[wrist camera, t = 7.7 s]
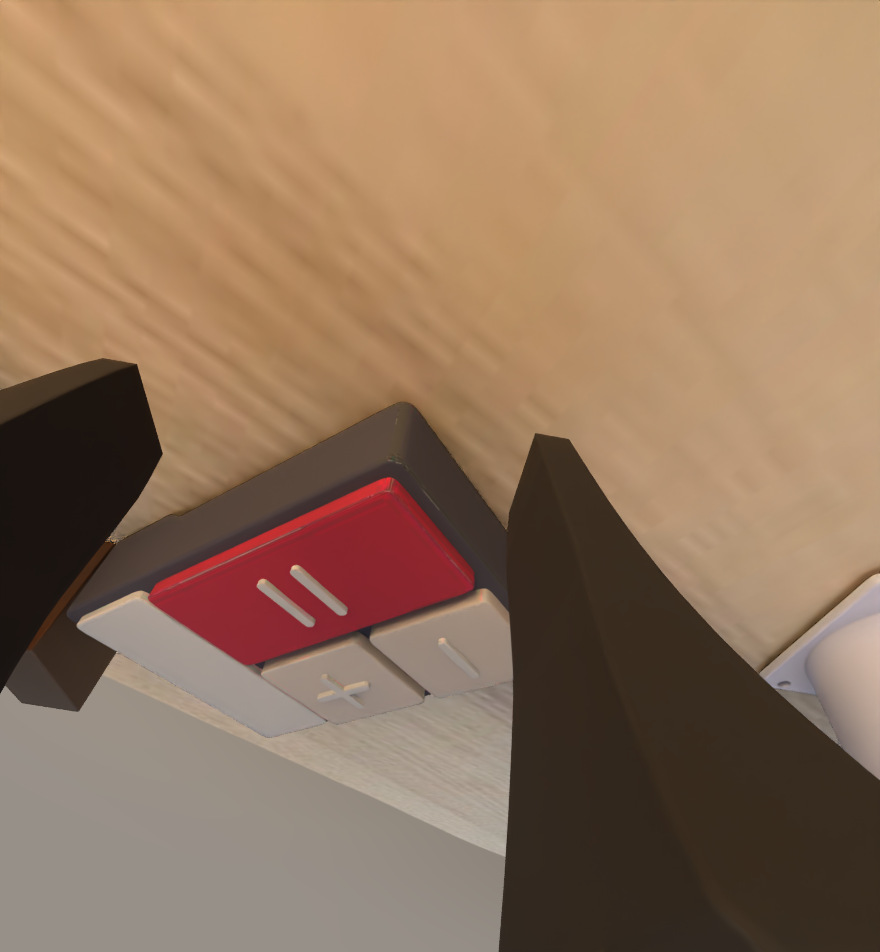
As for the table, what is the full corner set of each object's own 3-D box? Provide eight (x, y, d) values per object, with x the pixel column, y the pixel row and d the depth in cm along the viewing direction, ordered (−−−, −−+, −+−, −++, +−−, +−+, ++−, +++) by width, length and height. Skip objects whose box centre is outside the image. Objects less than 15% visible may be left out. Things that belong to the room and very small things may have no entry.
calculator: (569, 681, 18) (264, 754, 23) (553, 584, 21) (290, 668, 27) (393, 471, 12) (44, 633, 18) (410, 384, 16) (112, 543, 21)
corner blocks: (668, 633, 22) (703, 757, 18) (624, 687, 25) (646, 801, 21) (58, 533, 21) (-39, 639, 17) (95, 601, 24) (20, 703, 21)
